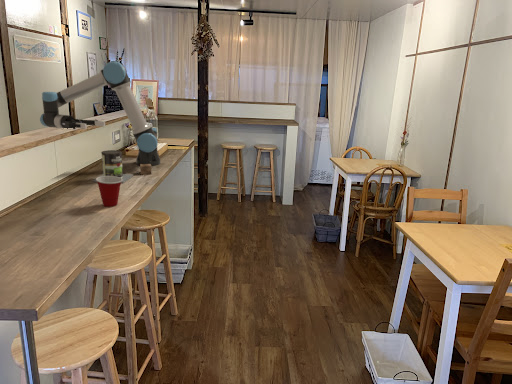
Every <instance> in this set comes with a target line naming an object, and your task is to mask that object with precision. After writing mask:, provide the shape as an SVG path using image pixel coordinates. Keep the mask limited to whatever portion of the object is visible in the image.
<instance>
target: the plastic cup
mask: <svg viewBox="0 0 512 384" xmlns="http://www.w3.org/2000/svg"><path fill="white" fill-rule="evenodd" d="M100 176H101V175H100ZM95 179H96V181H97V182H96V183H97V186H98V189H99V193H100V198H101V202H102V205H103V206H104V207H108V208H109V207H110V208H111V207H116V206H117V205H118V203H119V197H120V188H121V184H122V183H121V182H122V180H123V179H122V178H120V177H115V176H101V177H99V176H98V177H96V178H95Z"/></svg>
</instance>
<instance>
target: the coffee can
mask: <svg viewBox="0 0 512 384" xmlns="http://www.w3.org/2000/svg"><path fill="white" fill-rule="evenodd" d="M100 153H101V161H102V175H103V176H115V177H120V178H123V174H124V172H123V152H122V151H121V150H114V149H111V150H103V151H101V152H100Z"/></svg>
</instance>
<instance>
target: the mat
mask: <svg viewBox="0 0 512 384" xmlns="http://www.w3.org/2000/svg"><path fill="white" fill-rule="evenodd" d="M101 176H103V174H101V175H99V176H98V177H101ZM132 177H134V174H129V173H126V174H124V173H123V178H122V179H123V180H122V182H121V184H124V183H126V182H127V181H128V180H130V179H131V178H132ZM92 182H94V183H97V181H96V178H95V179H92Z"/></svg>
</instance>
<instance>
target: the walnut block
mask: <svg viewBox="0 0 512 384" xmlns="http://www.w3.org/2000/svg"><path fill="white" fill-rule="evenodd" d="M139 166H140V168H139V169H140V171H139V172H140V175H141V174H147V175H152V166H151V164H140V165H139Z"/></svg>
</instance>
